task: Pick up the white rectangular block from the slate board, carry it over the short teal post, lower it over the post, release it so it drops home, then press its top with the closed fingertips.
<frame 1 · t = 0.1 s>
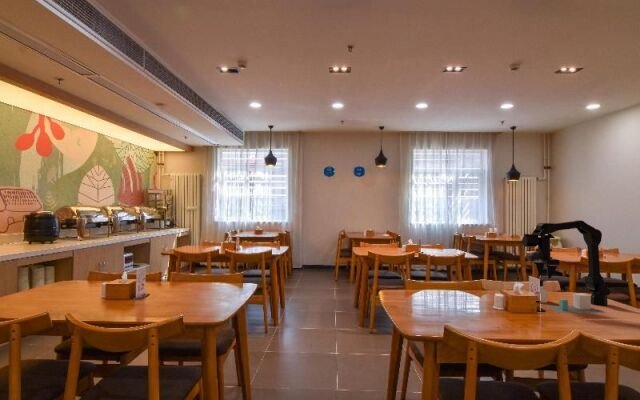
hand: (544, 277, 210), 15 cm above the table, fingers open, 9 cm apart
white rectangular block: (582, 307, 201), point 1 cm above the table, touching board
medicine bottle: (537, 302, 218), on the table
board: (573, 310, 198), on the table
post: (563, 311, 197), resting on board
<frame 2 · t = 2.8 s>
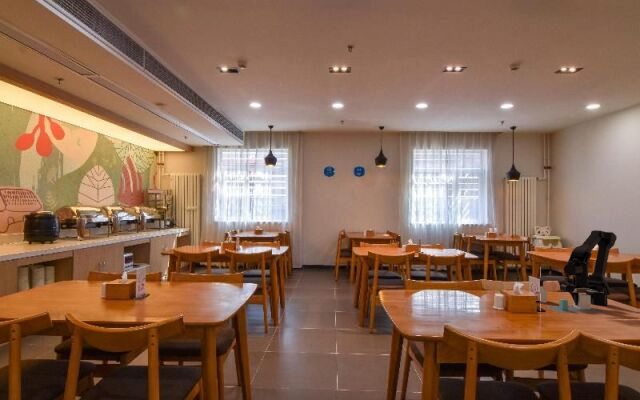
hand: (582, 305, 201), 2 cm above the table, fingers closed on white rectangular block, 5 cm apart
white rectangular block: (582, 307, 201), point 1 cm above the table, touching board, gripper
everything else where it was.
when the fingers open (3 cm above the table, at t = 7.2 s): white rectangular block drops 2 cm, resting on board.
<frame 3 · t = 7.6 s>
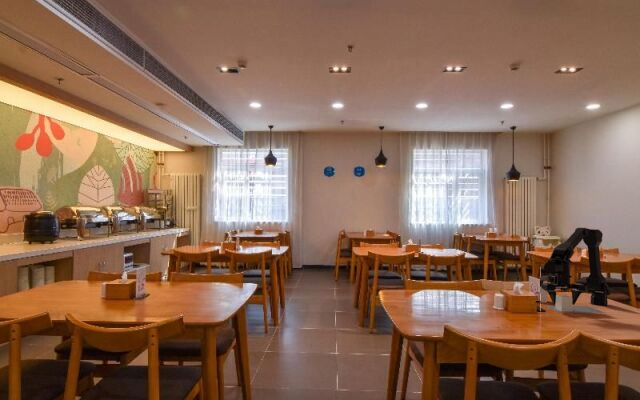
hand: (563, 304, 197), 3 cm above the table, fingers open, 9 cm apart
white rectangular block: (563, 310, 197), point 1 cm above the table, touching board
everything else where it was.
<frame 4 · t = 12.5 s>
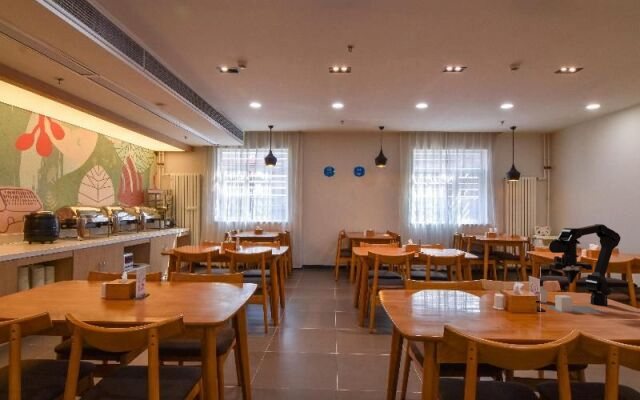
hand: (570, 283, 206), 12 cm above the table, fingers closed
nothing on the table moved.
at the end: white rectangular block 0.1 cm from the post (horizontally); white rectangular block point 0.6 cm above the table; white rectangular block tilted 0° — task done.
